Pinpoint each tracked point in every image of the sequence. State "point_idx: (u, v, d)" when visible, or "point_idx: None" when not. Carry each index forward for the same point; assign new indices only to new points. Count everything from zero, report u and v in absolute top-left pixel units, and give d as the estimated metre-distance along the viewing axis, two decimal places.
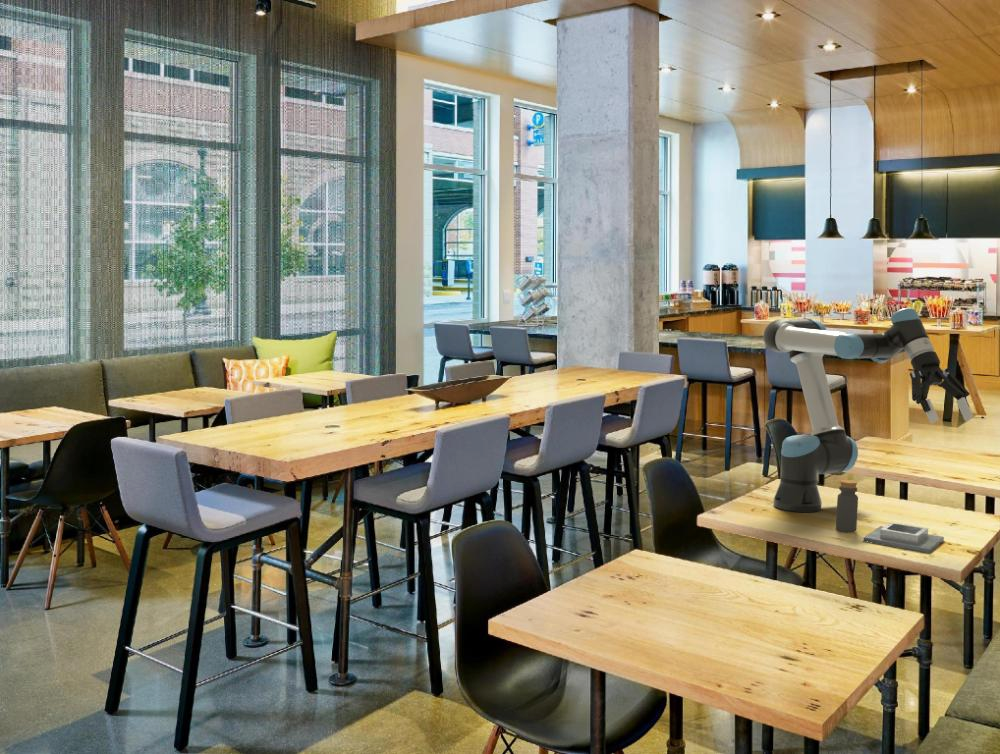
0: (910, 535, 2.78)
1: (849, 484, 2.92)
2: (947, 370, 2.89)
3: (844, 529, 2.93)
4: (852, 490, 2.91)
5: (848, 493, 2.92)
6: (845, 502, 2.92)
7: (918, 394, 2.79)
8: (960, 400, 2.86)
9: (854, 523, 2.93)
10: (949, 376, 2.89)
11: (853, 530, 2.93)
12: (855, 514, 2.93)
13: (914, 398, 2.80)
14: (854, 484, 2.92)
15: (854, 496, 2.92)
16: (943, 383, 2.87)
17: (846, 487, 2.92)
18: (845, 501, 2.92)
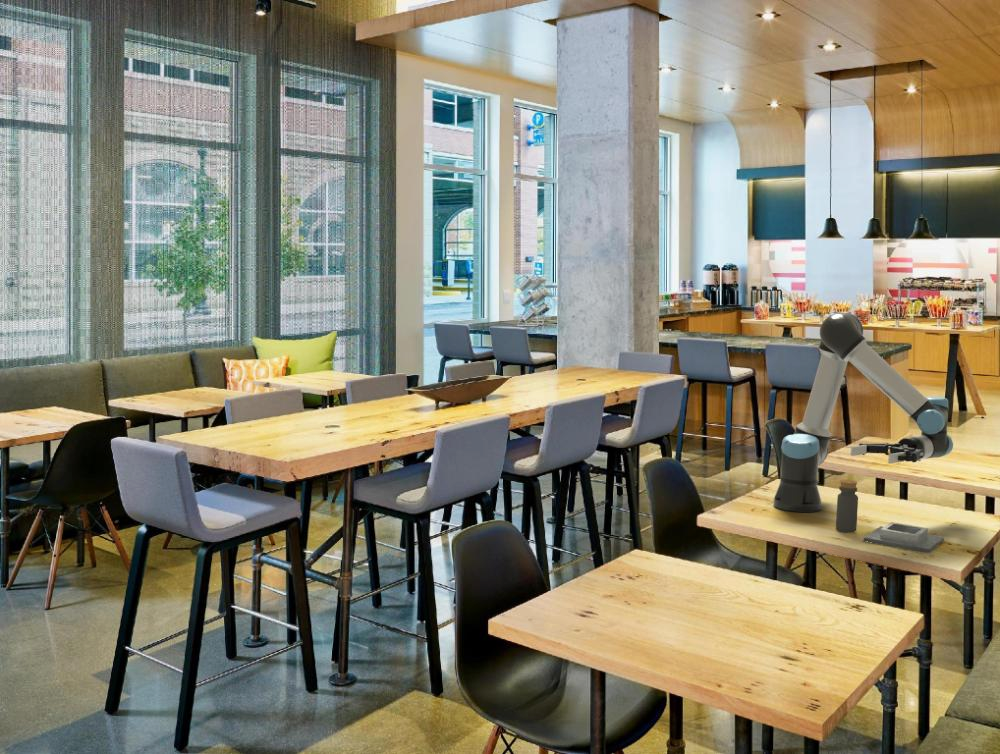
0: (910, 535, 2.78)
1: (849, 484, 2.92)
2: None
3: (844, 529, 2.93)
4: (852, 490, 2.91)
5: (848, 493, 2.92)
6: (845, 502, 2.92)
7: None
8: (865, 450, 3.07)
9: (854, 523, 2.93)
10: None
11: (853, 530, 2.93)
12: (855, 514, 2.93)
13: (915, 456, 2.93)
14: (854, 484, 2.92)
15: (854, 496, 2.92)
16: (886, 450, 3.07)
17: (846, 487, 2.92)
18: (845, 501, 2.92)
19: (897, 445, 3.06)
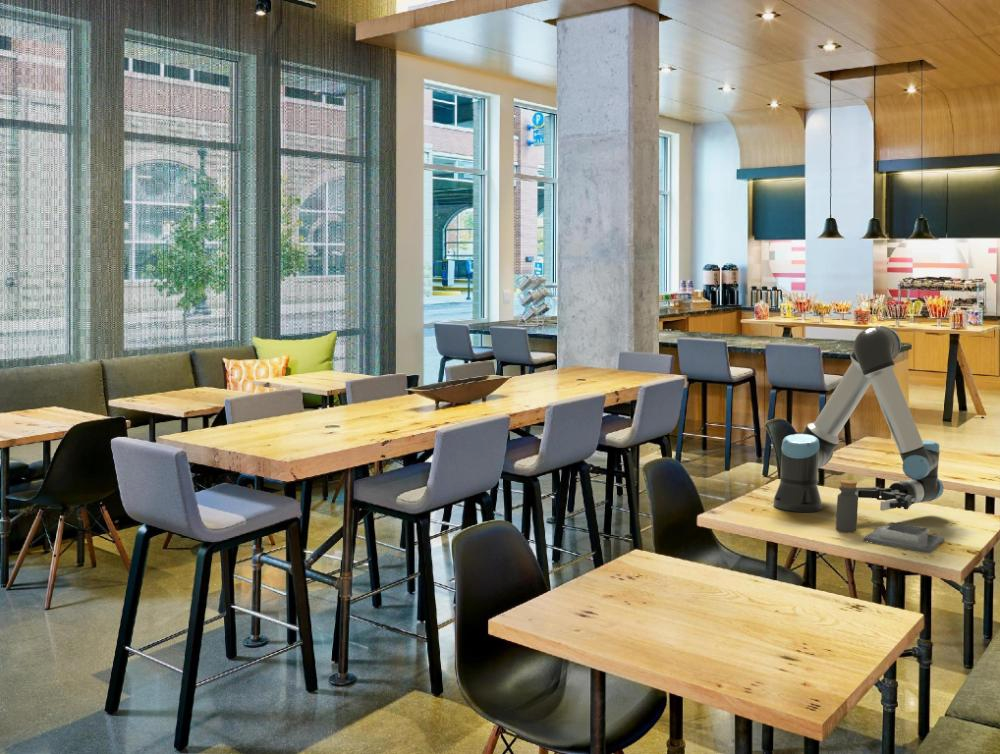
0: (910, 535, 2.78)
1: (849, 484, 2.92)
2: None
3: (844, 529, 2.93)
4: (852, 490, 2.91)
5: (848, 493, 2.92)
6: (845, 502, 2.92)
7: None
8: None
9: (854, 523, 2.93)
10: None
11: (853, 530, 2.93)
12: (855, 514, 2.93)
13: (907, 504, 2.93)
14: (854, 484, 2.92)
15: (854, 496, 2.92)
16: (878, 495, 3.06)
17: (846, 487, 2.92)
18: (845, 501, 2.92)
19: (888, 490, 3.05)
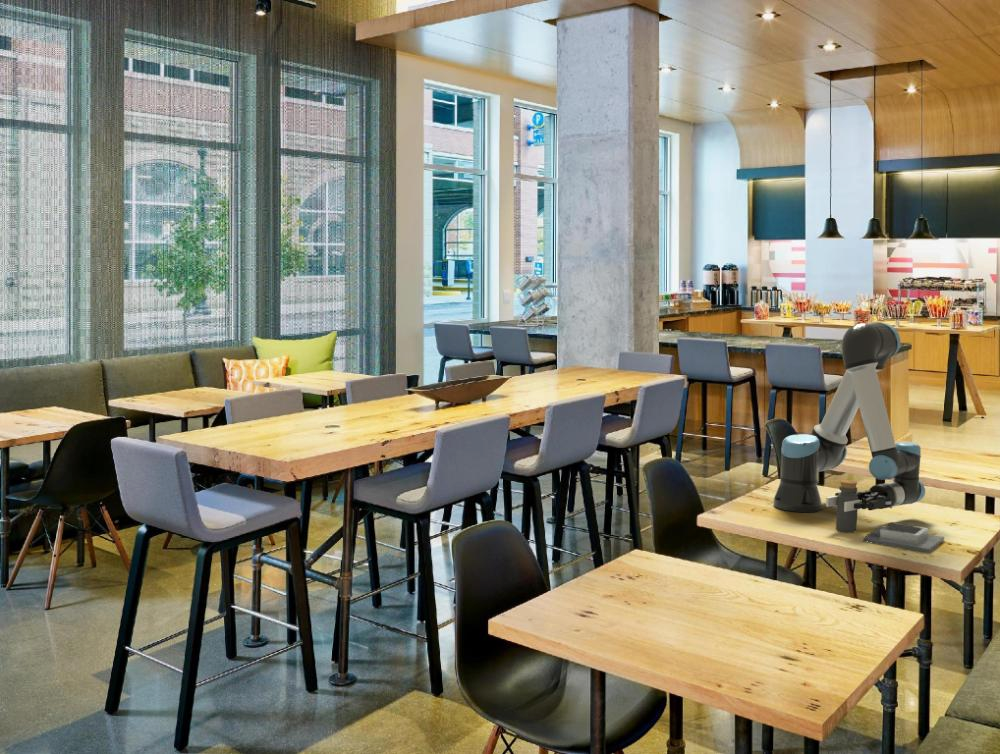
0: (910, 535, 2.78)
1: (849, 484, 2.92)
2: None
3: (844, 529, 2.93)
4: (852, 490, 2.91)
5: (848, 493, 2.92)
6: None
7: (871, 509, 2.91)
8: None
9: (854, 523, 2.93)
10: None
11: (853, 530, 2.93)
12: (855, 514, 2.93)
13: (870, 504, 2.90)
14: (854, 484, 2.92)
15: (854, 496, 2.92)
16: (860, 498, 3.00)
17: (846, 487, 2.92)
18: (845, 501, 2.92)
19: (869, 492, 3.01)
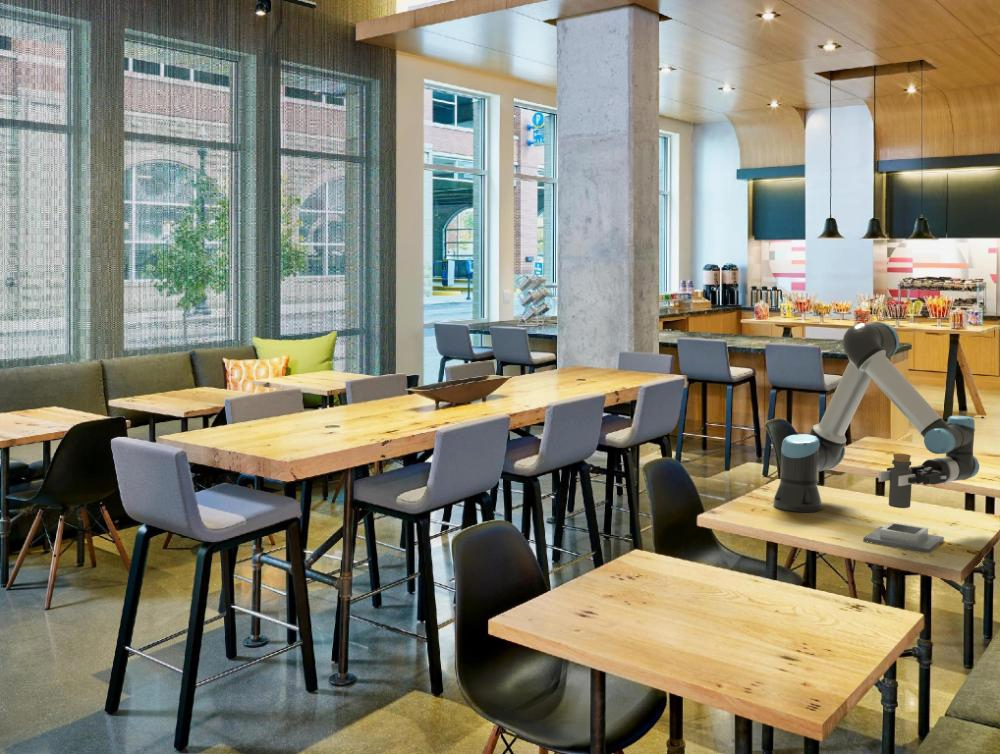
0: (910, 535, 2.78)
1: (903, 458, 2.80)
2: None
3: (897, 504, 2.82)
4: (906, 464, 2.80)
5: (902, 467, 2.81)
6: None
7: None
8: None
9: (908, 498, 2.81)
10: None
11: (907, 505, 2.82)
12: (909, 489, 2.81)
13: (926, 479, 2.79)
14: (908, 458, 2.81)
15: (908, 470, 2.81)
16: (913, 473, 2.89)
17: (900, 461, 2.81)
18: (899, 475, 2.81)
19: (922, 467, 2.90)
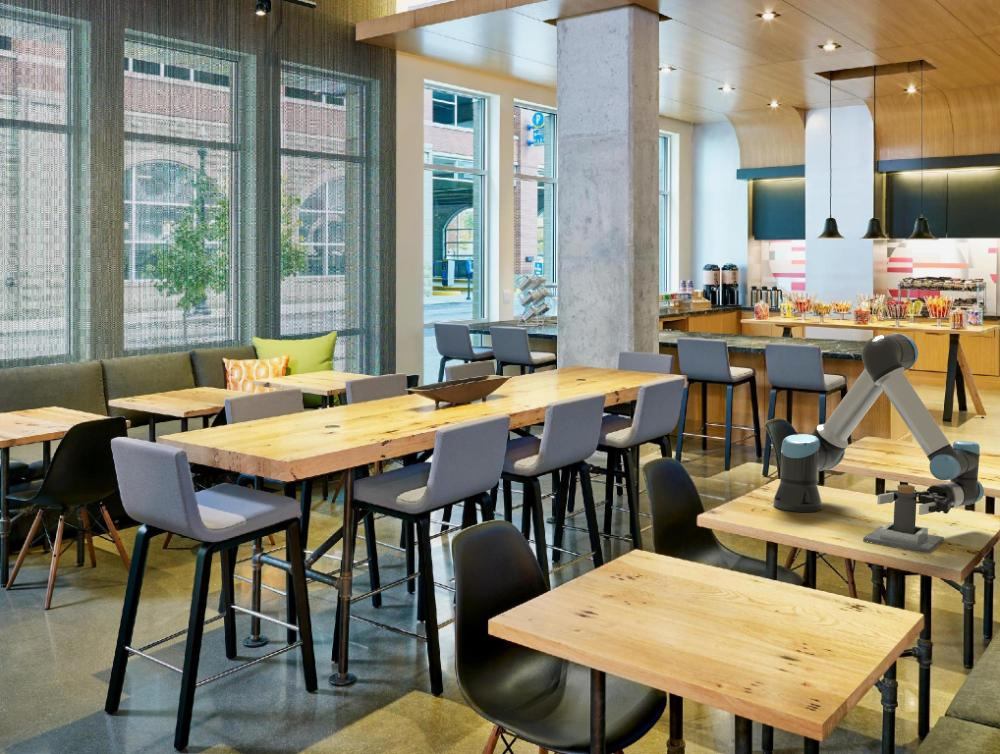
0: (910, 535, 2.78)
1: (907, 489, 2.80)
2: None
3: None
4: (910, 495, 2.80)
5: (906, 498, 2.81)
6: (903, 508, 2.81)
7: None
8: (892, 498, 2.90)
9: (913, 530, 2.81)
10: None
11: None
12: (913, 520, 2.81)
13: (947, 507, 2.77)
14: (912, 489, 2.81)
15: (912, 501, 2.81)
16: (915, 498, 2.90)
17: (904, 492, 2.81)
18: (903, 506, 2.81)
19: (926, 493, 2.90)
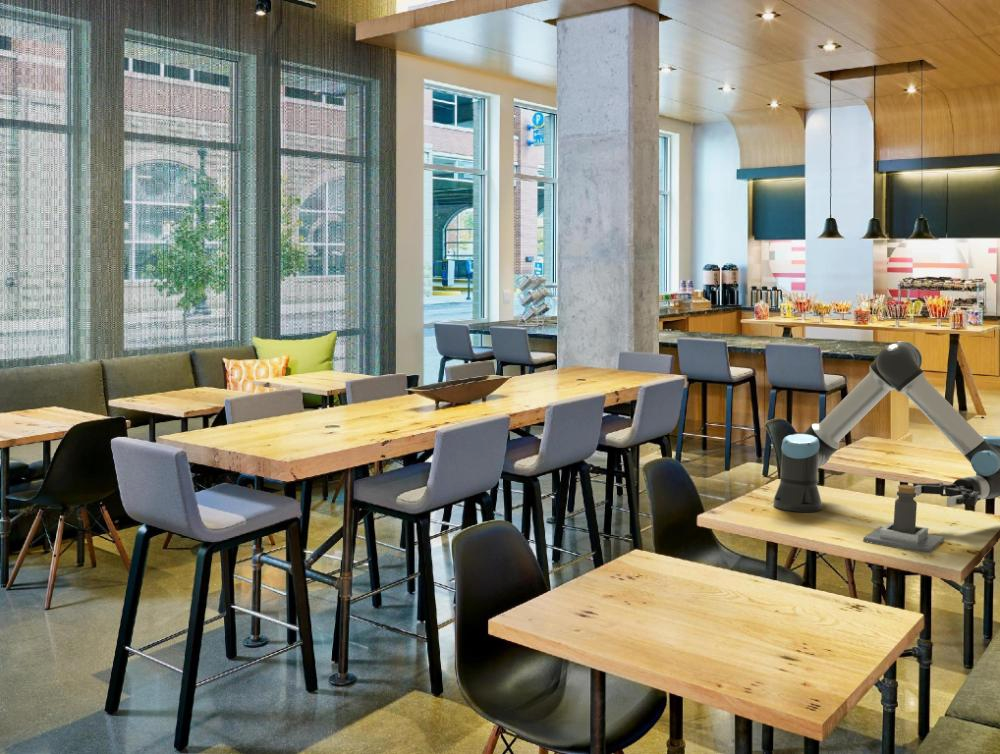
0: (910, 535, 2.78)
1: (908, 489, 2.80)
2: None
3: None
4: (911, 495, 2.80)
5: (906, 499, 2.81)
6: (904, 508, 2.81)
7: None
8: (920, 491, 2.97)
9: (913, 530, 2.81)
10: None
11: None
12: (914, 520, 2.81)
13: (974, 500, 2.84)
14: (913, 489, 2.81)
15: (913, 502, 2.81)
16: (942, 491, 2.97)
17: (904, 492, 2.81)
18: (903, 507, 2.81)
19: (953, 486, 2.97)
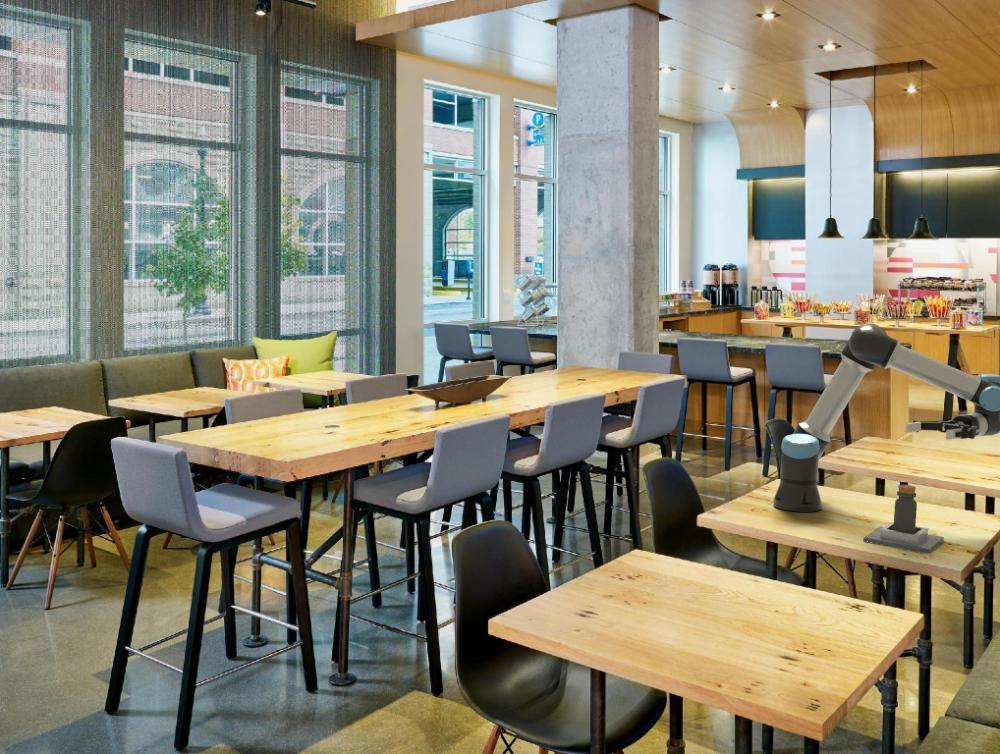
0: (910, 535, 2.78)
1: (908, 489, 2.80)
2: None
3: None
4: (911, 495, 2.80)
5: (907, 499, 2.81)
6: (904, 508, 2.81)
7: None
8: (919, 427, 3.04)
9: (913, 530, 2.81)
10: None
11: None
12: (914, 520, 2.81)
13: (973, 433, 2.91)
14: (913, 489, 2.81)
15: (913, 502, 2.81)
16: (941, 427, 3.04)
17: (905, 492, 2.81)
18: (903, 507, 2.81)
19: (952, 422, 3.03)
